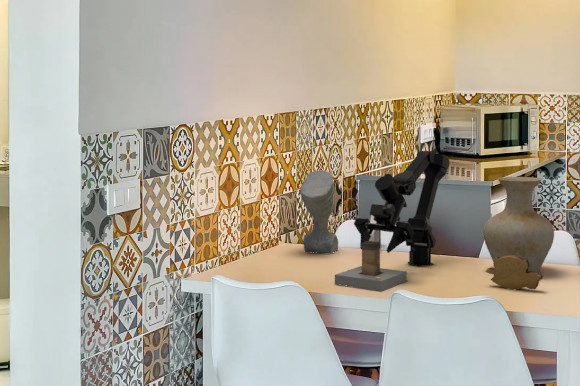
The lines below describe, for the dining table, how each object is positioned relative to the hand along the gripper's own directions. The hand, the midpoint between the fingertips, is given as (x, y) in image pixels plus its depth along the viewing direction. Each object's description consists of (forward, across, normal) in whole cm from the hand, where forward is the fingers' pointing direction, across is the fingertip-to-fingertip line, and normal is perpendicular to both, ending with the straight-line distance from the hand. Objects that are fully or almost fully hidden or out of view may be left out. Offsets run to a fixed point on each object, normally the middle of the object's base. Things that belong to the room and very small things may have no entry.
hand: (374, 250), depth 256 cm
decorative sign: (-25, -26, +40) cm, 54 cm away
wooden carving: (-3, +39, +17) cm, 42 cm away
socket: (+8, 0, +5) cm, 10 cm away
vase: (-19, +31, +34) cm, 50 cm away
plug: (+8, 0, +5) cm, 10 cm away
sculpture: (-14, -40, +29) cm, 52 cm away
